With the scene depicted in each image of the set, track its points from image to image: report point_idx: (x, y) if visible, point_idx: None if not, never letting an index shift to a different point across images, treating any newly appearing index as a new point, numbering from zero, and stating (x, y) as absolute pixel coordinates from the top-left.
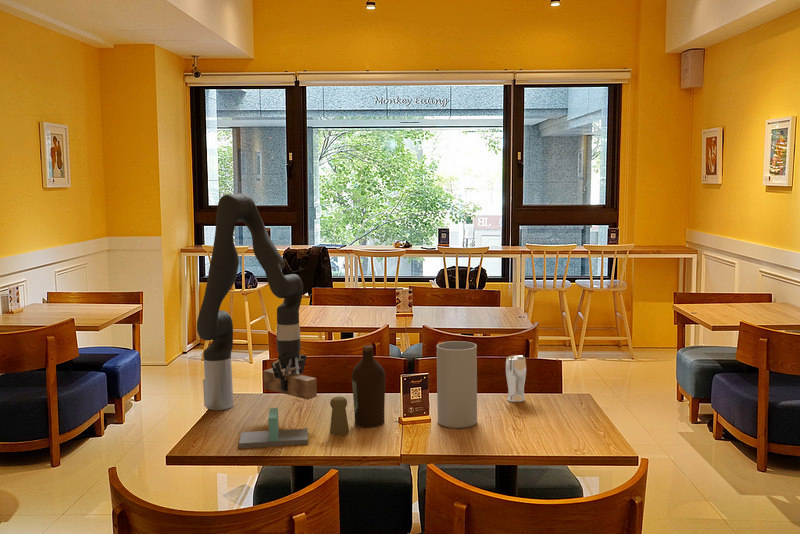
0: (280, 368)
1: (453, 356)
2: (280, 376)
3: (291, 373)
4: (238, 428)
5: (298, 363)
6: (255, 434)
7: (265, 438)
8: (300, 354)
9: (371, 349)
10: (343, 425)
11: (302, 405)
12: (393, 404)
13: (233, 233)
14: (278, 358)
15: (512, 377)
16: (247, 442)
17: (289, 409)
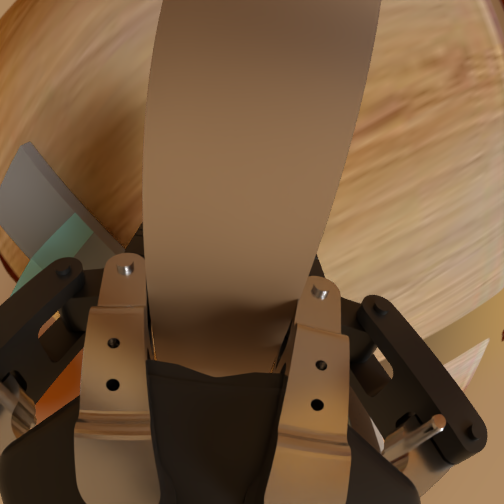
0: (38, 399)
1: None
2: (63, 335)
3: (264, 318)
4: (73, 58)
5: (401, 388)
6: (33, 197)
7: (37, 244)
8: (467, 457)
9: None
10: None
11: (424, 104)
12: (443, 326)
13: None
14: (4, 480)
15: None
16: (2, 225)
17: (367, 75)
